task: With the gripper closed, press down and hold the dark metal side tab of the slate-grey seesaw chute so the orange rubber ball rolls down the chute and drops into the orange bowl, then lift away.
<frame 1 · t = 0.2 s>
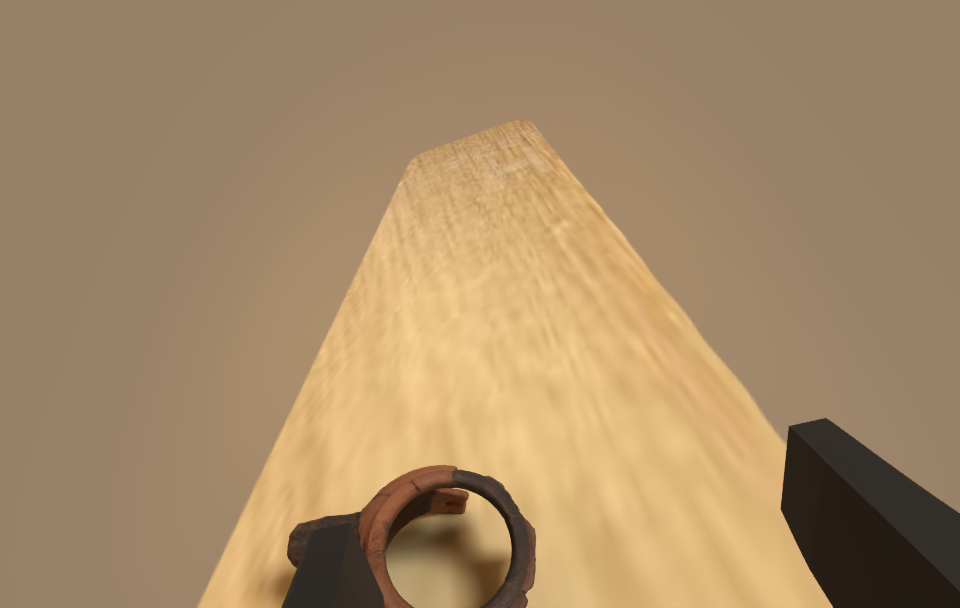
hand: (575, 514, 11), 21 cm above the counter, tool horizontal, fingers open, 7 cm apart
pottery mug: (429, 591, 35), on the counter
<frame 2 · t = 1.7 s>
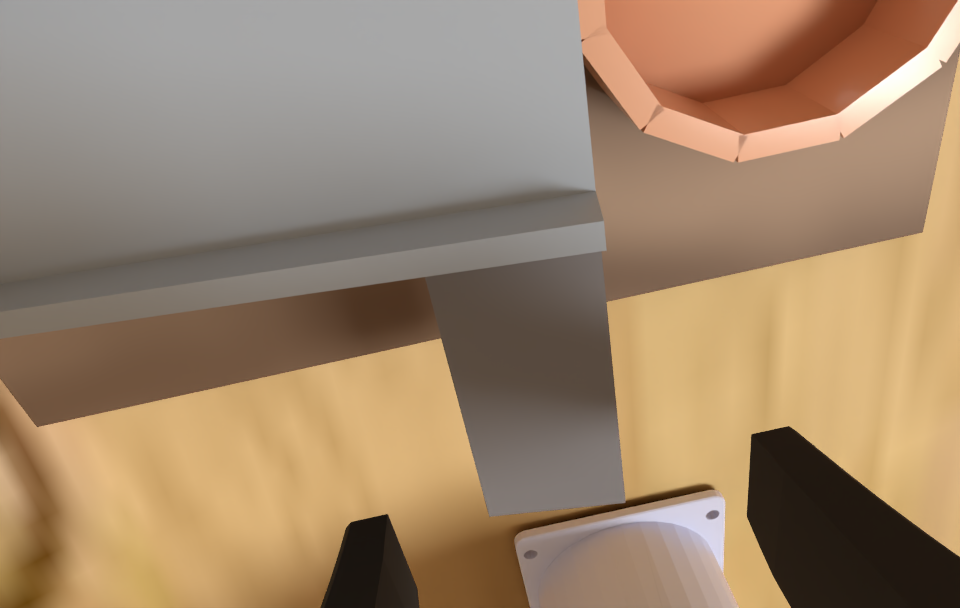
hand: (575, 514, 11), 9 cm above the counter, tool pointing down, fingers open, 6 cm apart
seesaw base: (420, 72, 16), on the counter
lever: (187, 290, 13), point 5 cm above the counter, hinge at -8.0°, touching ball
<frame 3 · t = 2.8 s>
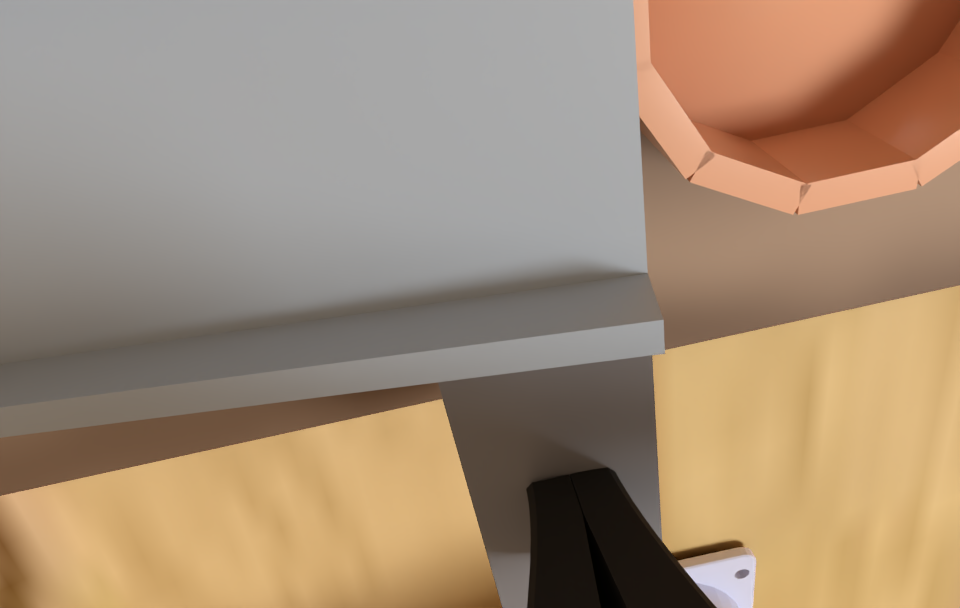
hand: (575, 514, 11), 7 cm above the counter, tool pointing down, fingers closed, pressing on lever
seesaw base: (426, 105, 14), on the counter
lever: (149, 378, 11), point 5 cm above the counter, hinge at -8.0°, touching ball, gripper
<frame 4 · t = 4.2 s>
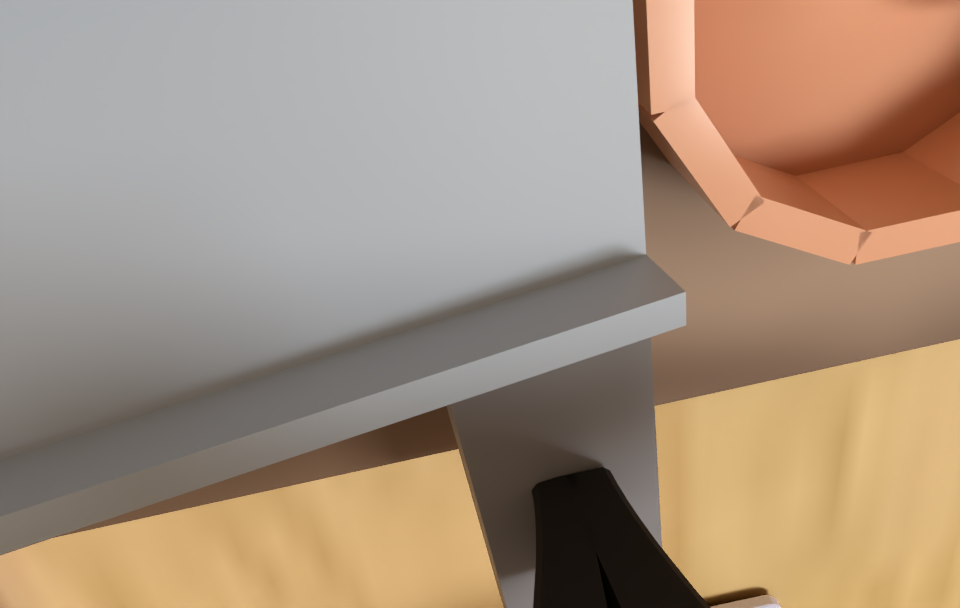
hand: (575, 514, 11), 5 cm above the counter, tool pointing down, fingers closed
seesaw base: (431, 135, 13), on the counter
lever: (108, 466, 9), point 5 cm above the counter, hinge at 9.3°, touching gripper
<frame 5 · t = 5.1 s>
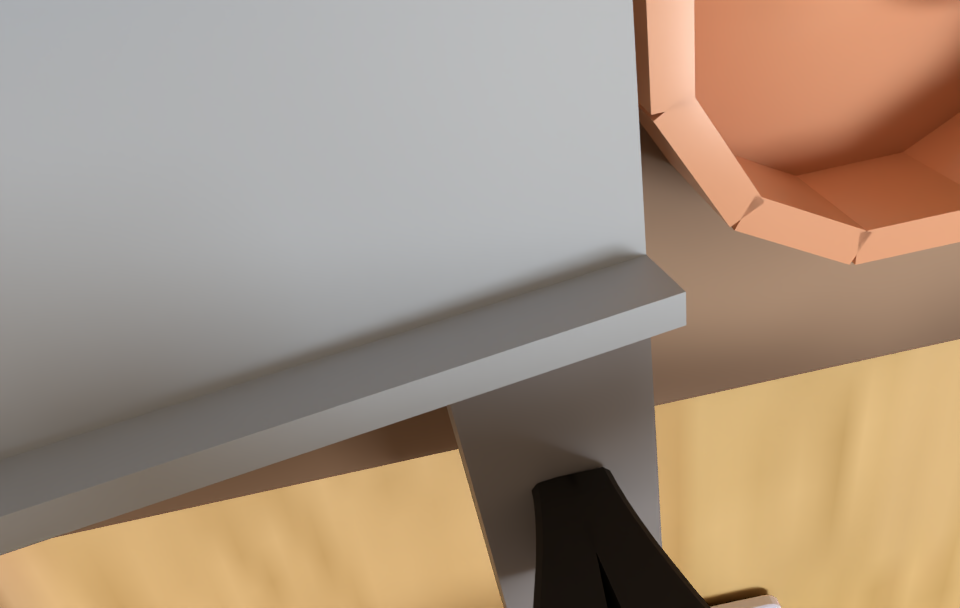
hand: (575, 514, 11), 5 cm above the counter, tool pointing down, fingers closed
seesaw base: (431, 135, 13), on the counter
lever: (108, 466, 9), point 5 cm above the counter, hinge at 9.3°, touching gripper
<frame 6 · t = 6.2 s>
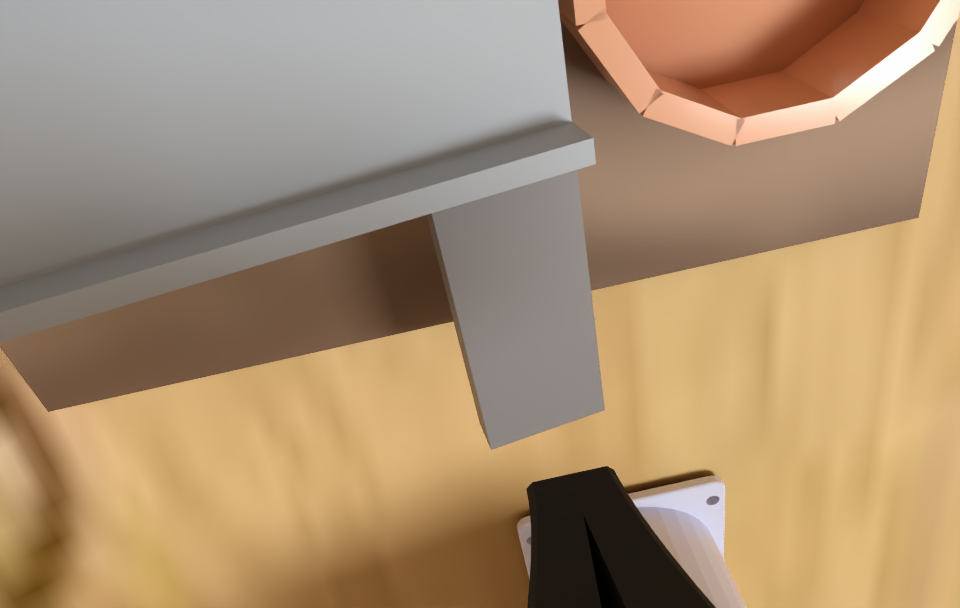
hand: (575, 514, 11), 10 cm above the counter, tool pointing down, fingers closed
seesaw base: (424, 60, 17), on the counter
lever: (198, 270, 13), point 5 cm above the counter, hinge at 9.3°
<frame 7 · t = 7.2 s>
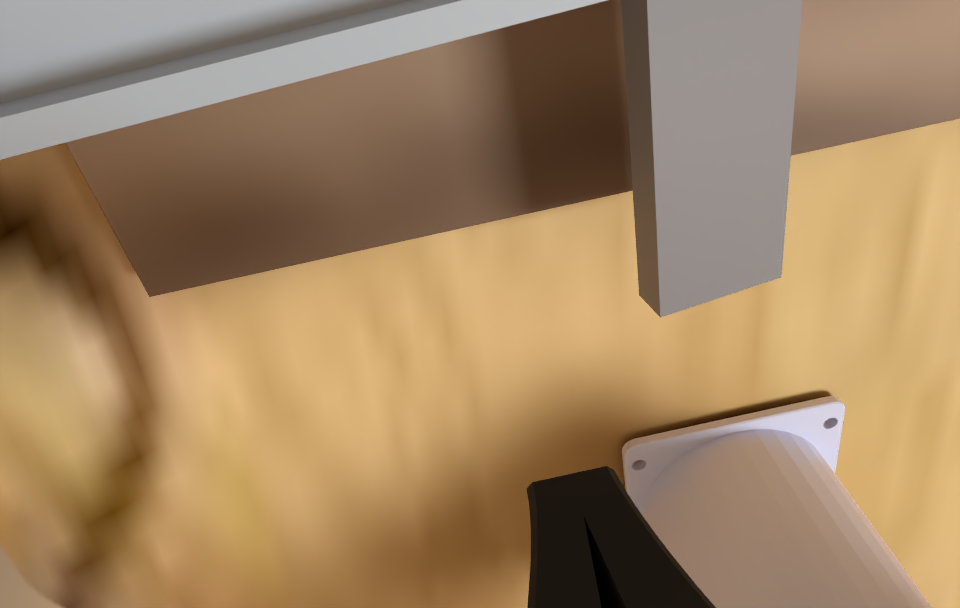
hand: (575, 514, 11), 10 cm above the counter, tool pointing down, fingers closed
lever: (383, 68, 11), point 5 cm above the counter, hinge at 9.3°
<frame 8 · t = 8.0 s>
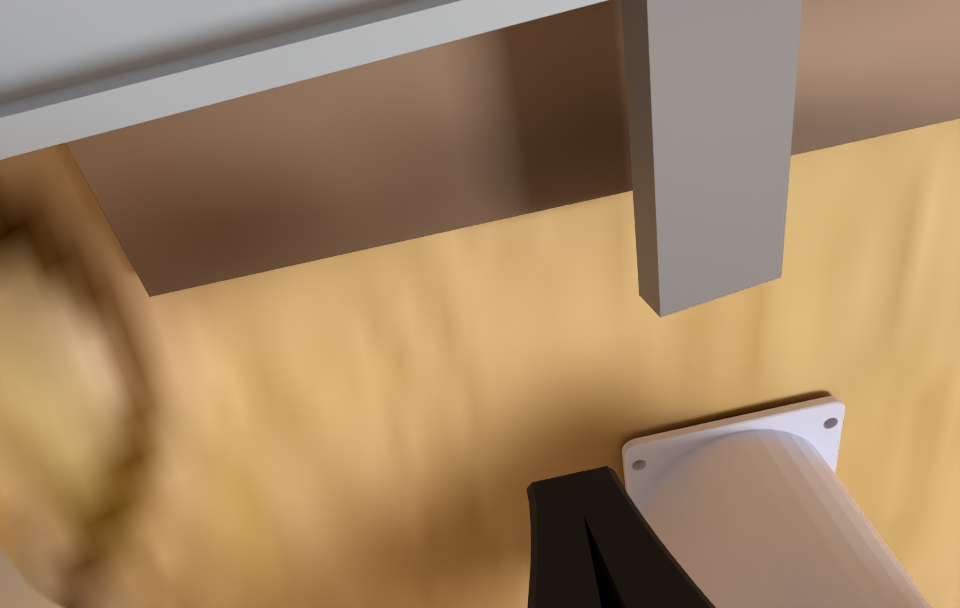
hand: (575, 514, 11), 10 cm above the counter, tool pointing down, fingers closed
lever: (383, 68, 11), point 5 cm above the counter, hinge at 9.3°
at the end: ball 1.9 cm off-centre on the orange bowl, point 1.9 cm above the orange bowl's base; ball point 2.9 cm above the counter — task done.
